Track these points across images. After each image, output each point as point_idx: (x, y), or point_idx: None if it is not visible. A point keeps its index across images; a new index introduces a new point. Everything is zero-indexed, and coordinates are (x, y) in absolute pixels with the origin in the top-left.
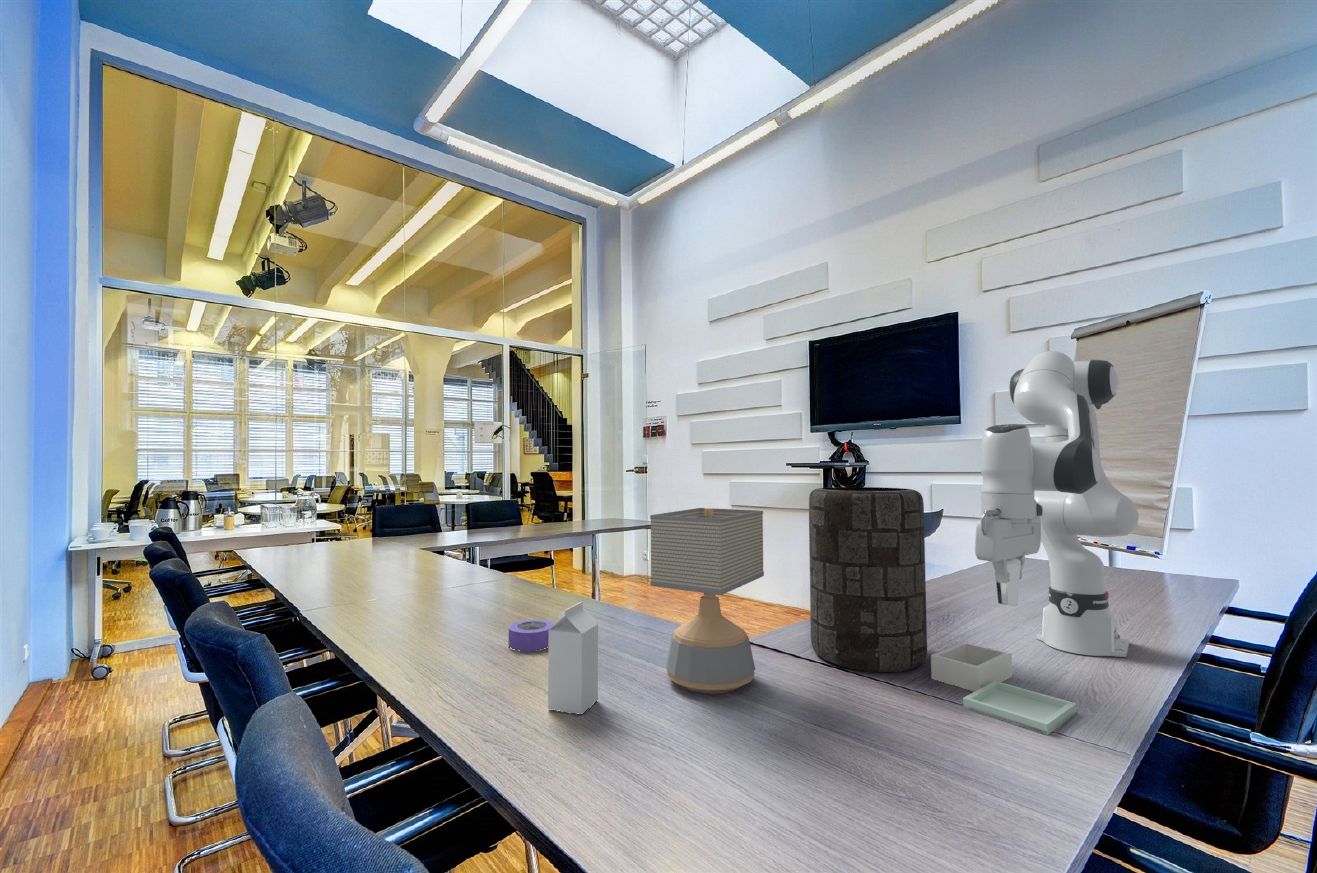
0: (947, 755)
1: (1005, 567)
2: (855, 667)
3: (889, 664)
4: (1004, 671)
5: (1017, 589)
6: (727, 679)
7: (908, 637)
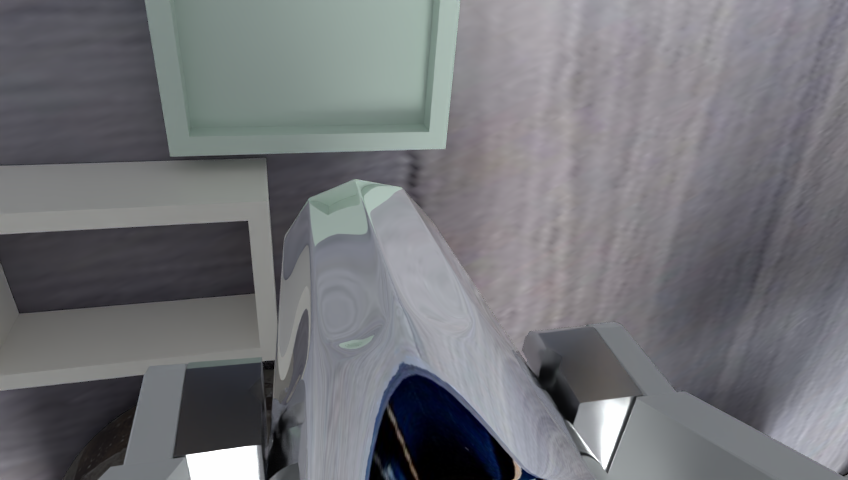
0: (769, 20)
1: (777, 458)
2: None
3: None
4: (15, 182)
5: (395, 247)
6: None
7: None
